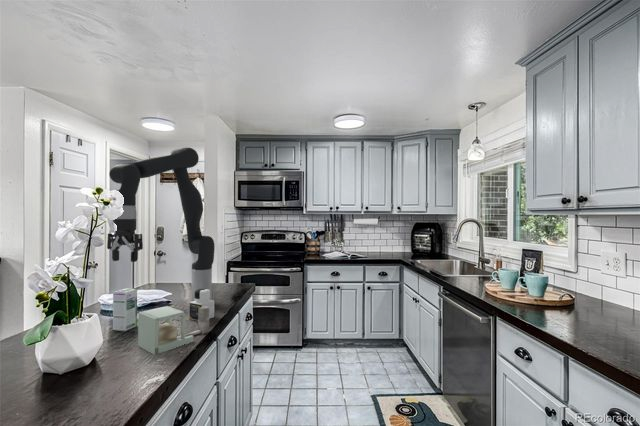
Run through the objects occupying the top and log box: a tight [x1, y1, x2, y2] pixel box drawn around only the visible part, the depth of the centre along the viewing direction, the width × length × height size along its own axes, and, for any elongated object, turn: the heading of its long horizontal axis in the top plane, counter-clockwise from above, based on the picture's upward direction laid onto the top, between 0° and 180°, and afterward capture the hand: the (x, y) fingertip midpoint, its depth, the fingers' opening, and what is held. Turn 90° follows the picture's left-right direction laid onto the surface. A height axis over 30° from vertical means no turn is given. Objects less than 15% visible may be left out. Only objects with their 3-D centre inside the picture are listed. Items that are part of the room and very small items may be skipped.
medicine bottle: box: [189, 289, 215, 322], centre depth 135 cm, size 7×7×12 cm
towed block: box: [158, 306, 210, 346], centre depth 112 cm, size 19×6×9 cm, turn 143°
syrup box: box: [112, 288, 138, 332], centre depth 122 cm, size 6×6×14 cm
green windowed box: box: [137, 305, 195, 356], centre depth 107 cm, size 13×11×11 cm
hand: (124, 261), depth 120 cm, fingers open, 8 cm apart
